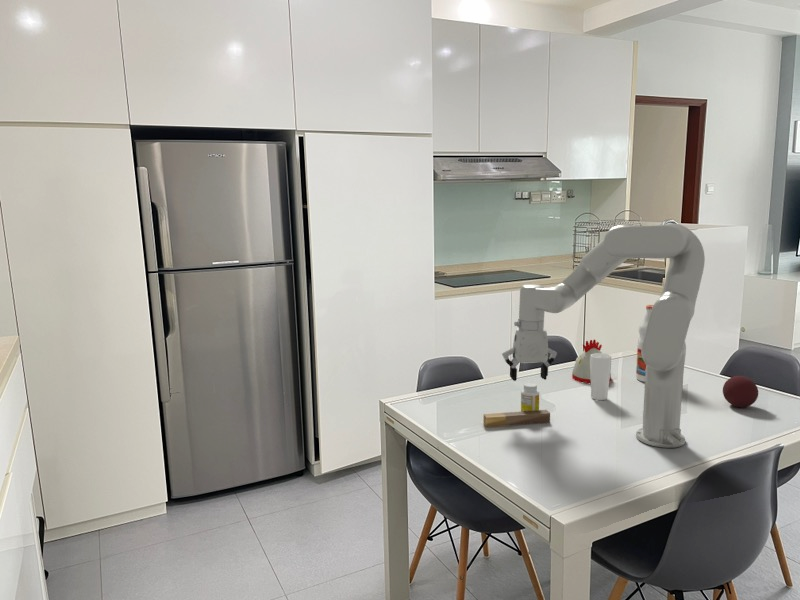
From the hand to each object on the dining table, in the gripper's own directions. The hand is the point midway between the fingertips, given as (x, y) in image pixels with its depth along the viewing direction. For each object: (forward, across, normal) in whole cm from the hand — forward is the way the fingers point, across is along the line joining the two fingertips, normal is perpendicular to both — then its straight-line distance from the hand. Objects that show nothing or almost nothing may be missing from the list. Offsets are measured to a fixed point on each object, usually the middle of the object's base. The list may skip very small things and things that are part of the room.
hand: (528, 378), depth 185 cm
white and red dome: (+12, +38, +33) cm, 52 cm away
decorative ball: (+11, +70, -5) cm, 71 cm away
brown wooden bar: (+12, -5, -6) cm, 14 cm away
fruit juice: (+12, +58, +27) cm, 65 cm away
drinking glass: (+12, +30, +11) cm, 34 cm away
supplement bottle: (+12, +1, -1) cm, 12 cm away
